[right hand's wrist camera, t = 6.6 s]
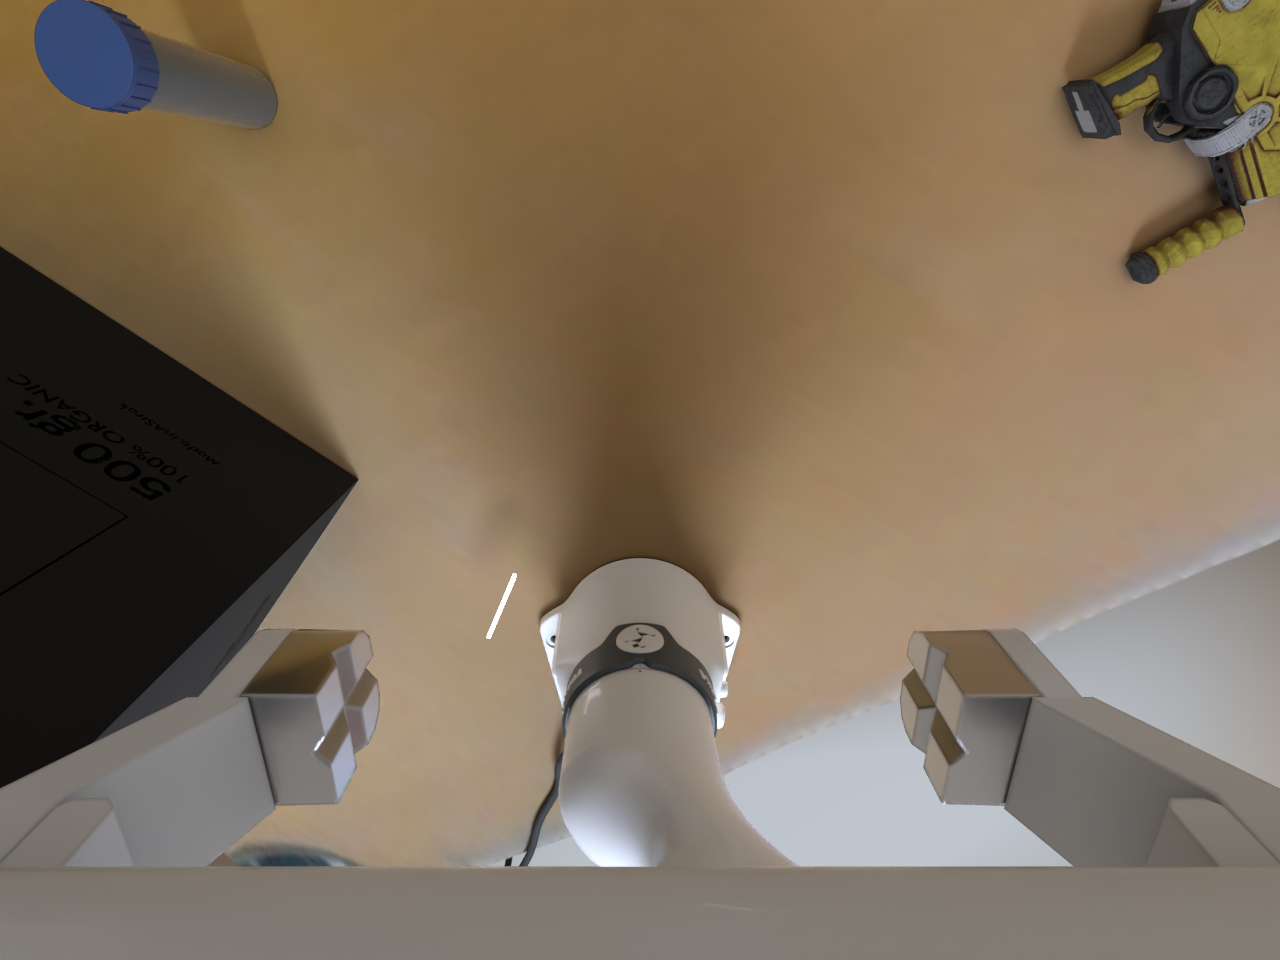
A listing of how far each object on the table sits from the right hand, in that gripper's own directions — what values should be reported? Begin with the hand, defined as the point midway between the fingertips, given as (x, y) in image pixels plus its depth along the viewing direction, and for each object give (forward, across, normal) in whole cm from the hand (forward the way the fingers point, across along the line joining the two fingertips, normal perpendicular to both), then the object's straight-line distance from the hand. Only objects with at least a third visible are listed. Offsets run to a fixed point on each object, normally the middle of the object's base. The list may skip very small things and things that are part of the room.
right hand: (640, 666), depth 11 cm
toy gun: (+48, +41, +8) cm, 64 cm away
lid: (+32, -28, +13) cm, 45 cm away
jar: (+48, -28, +13) cm, 57 cm away
